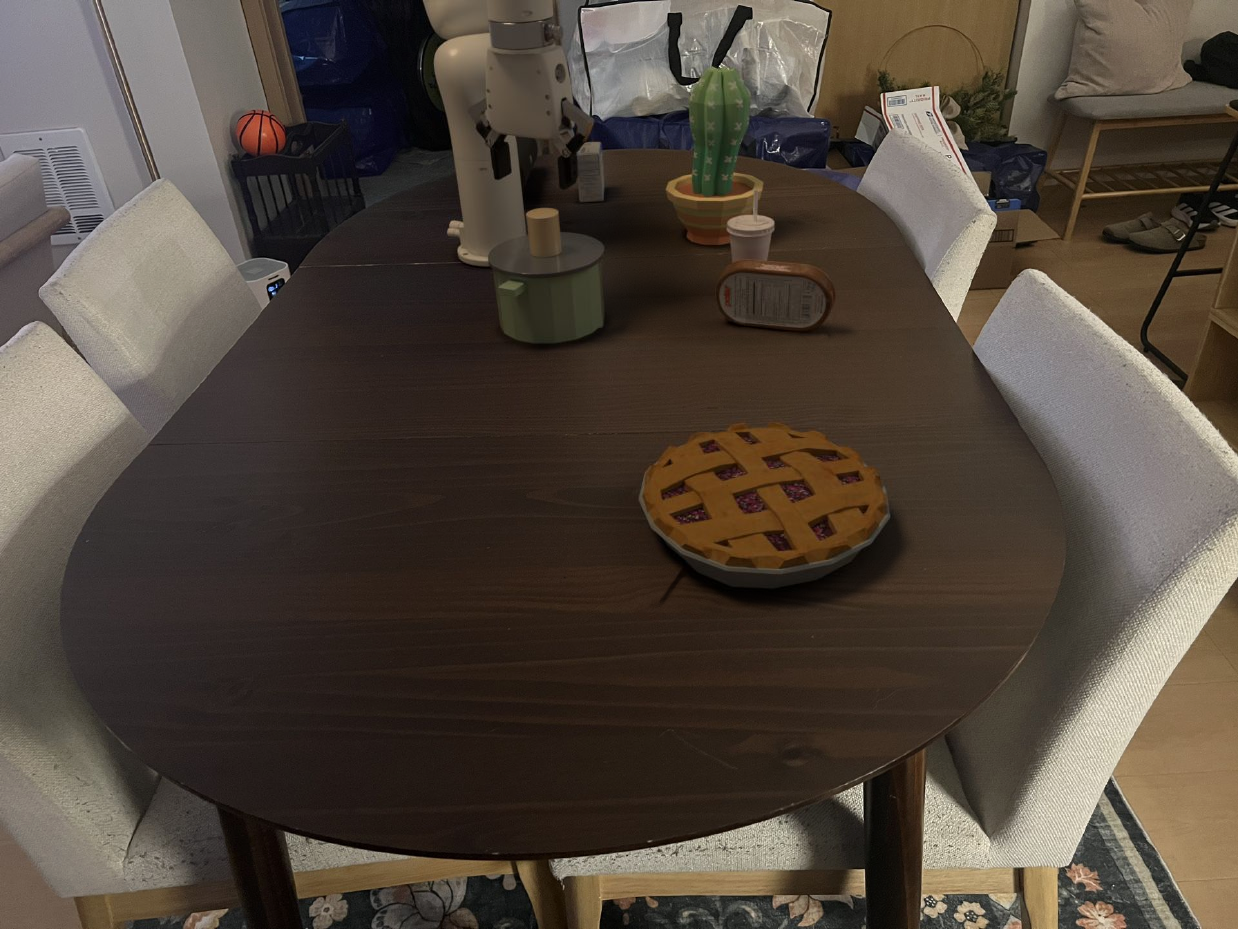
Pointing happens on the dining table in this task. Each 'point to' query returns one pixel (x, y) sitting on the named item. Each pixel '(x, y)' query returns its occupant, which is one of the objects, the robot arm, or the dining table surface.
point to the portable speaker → (526, 157)
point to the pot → (550, 306)
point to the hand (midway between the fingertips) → (535, 181)
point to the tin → (775, 294)
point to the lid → (545, 249)
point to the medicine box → (590, 172)
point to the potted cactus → (715, 159)
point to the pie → (764, 504)
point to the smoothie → (750, 235)
